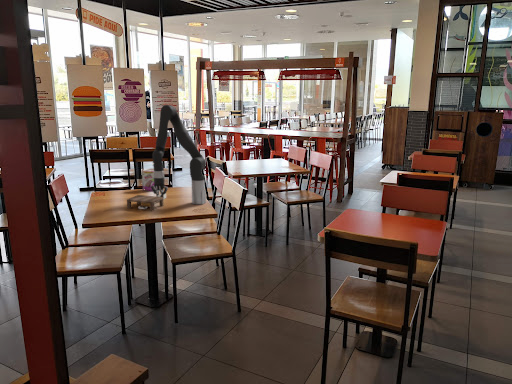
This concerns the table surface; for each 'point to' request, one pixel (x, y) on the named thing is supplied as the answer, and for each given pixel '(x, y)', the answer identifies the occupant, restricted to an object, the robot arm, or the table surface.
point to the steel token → (142, 207)
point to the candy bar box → (147, 179)
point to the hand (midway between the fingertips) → (160, 199)
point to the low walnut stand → (145, 201)
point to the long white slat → (155, 202)
